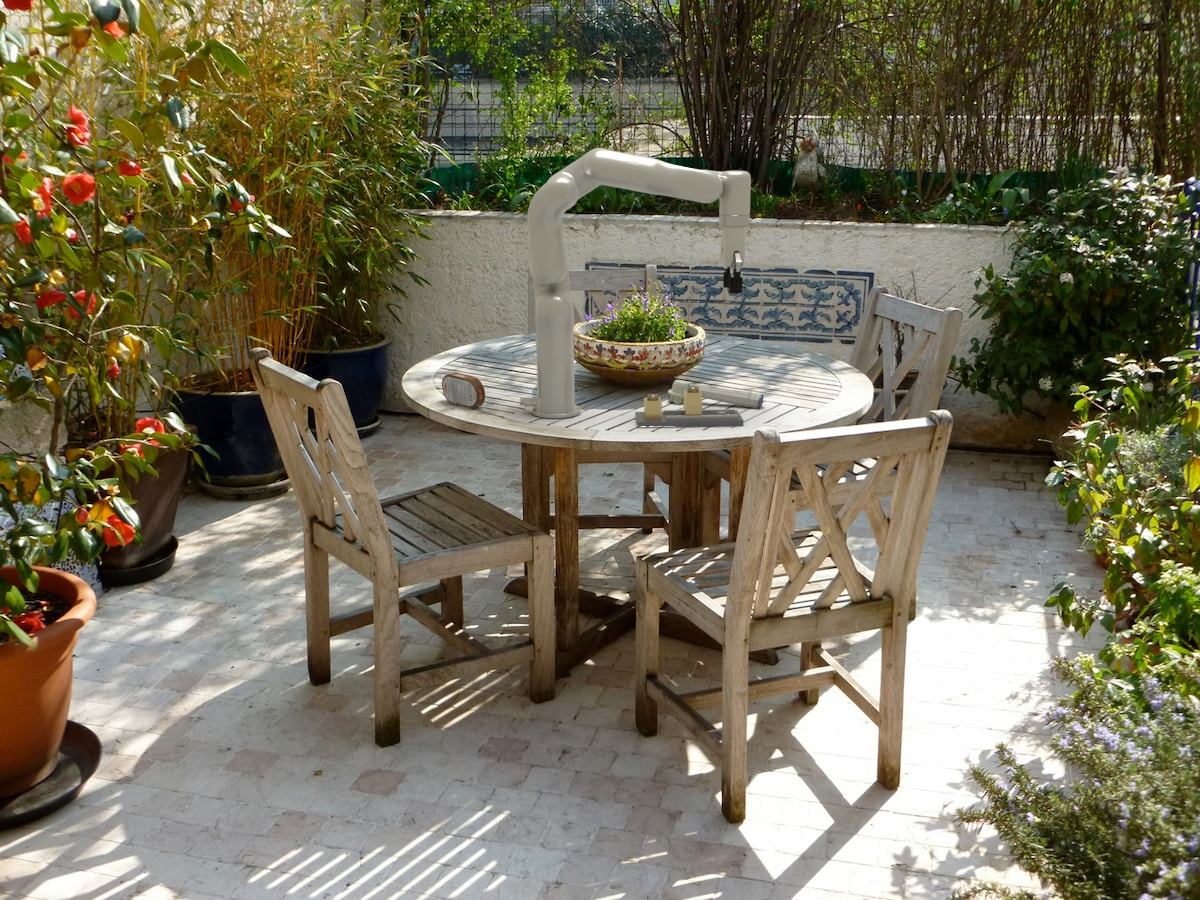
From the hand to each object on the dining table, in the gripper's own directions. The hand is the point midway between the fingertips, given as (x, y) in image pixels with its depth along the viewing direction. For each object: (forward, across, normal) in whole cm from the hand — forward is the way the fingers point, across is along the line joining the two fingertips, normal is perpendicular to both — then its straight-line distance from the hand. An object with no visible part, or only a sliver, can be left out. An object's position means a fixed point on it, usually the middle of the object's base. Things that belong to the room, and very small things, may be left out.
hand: (732, 290), depth 298 cm
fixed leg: (+30, +11, -21) cm, 38 cm away
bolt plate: (+31, +11, -12) cm, 35 cm away
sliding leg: (+29, +11, -11) cm, 33 cm away
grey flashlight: (+32, -6, -3) cm, 32 cm away
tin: (+32, -10, -70) cm, 77 cm away
